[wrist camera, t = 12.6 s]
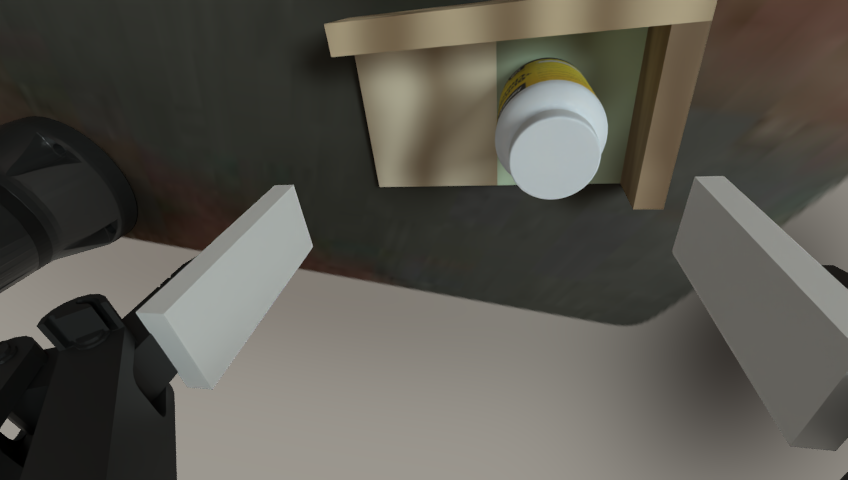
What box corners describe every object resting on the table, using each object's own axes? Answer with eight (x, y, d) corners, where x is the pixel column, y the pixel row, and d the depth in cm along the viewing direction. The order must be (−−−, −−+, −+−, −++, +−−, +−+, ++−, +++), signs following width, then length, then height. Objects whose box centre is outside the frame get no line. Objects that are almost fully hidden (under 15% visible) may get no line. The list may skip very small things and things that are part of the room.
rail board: (381, 184, 37) (364, 209, 33) (350, 17, 30) (324, 24, 26) (644, 179, 32) (663, 209, 28) (688, -23, 25) (723, -23, 20)
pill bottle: (536, 36, 27) (546, 68, 18) (607, 89, 28) (652, 144, 19) (482, 113, 31) (467, 173, 22) (546, 157, 32) (559, 233, 23)
